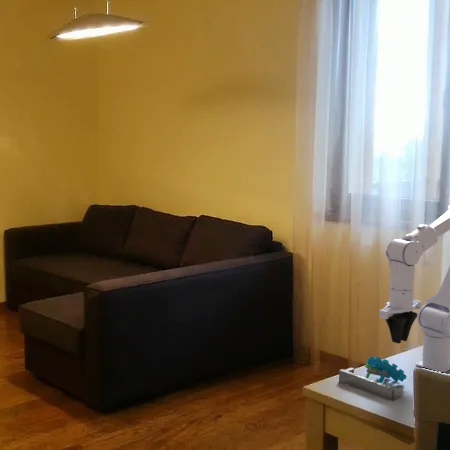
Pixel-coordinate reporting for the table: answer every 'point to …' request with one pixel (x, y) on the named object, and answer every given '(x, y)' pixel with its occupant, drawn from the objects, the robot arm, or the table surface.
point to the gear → (383, 369)
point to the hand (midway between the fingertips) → (399, 341)
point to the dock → (370, 385)
